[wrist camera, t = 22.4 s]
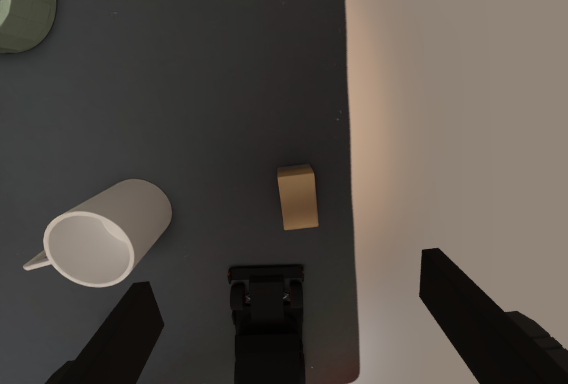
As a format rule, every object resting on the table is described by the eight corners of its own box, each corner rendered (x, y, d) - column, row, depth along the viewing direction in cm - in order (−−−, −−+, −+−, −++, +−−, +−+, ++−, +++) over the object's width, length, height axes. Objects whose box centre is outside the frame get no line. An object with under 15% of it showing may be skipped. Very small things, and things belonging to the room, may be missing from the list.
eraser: (277, 167, 34) (277, 177, 30) (309, 163, 34) (314, 173, 30) (283, 214, 36) (284, 230, 32) (313, 211, 36) (318, 226, 32)
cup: (66, 197, 34) (-13, 235, 25) (155, 171, 34) (108, 200, 24) (99, 251, 37) (38, 304, 28) (182, 228, 36) (148, 275, 27)
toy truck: (303, 263, 39) (309, 299, 32) (302, 366, 45) (307, 415, 38) (228, 265, 38) (218, 302, 32) (239, 369, 45) (232, 418, 38)
